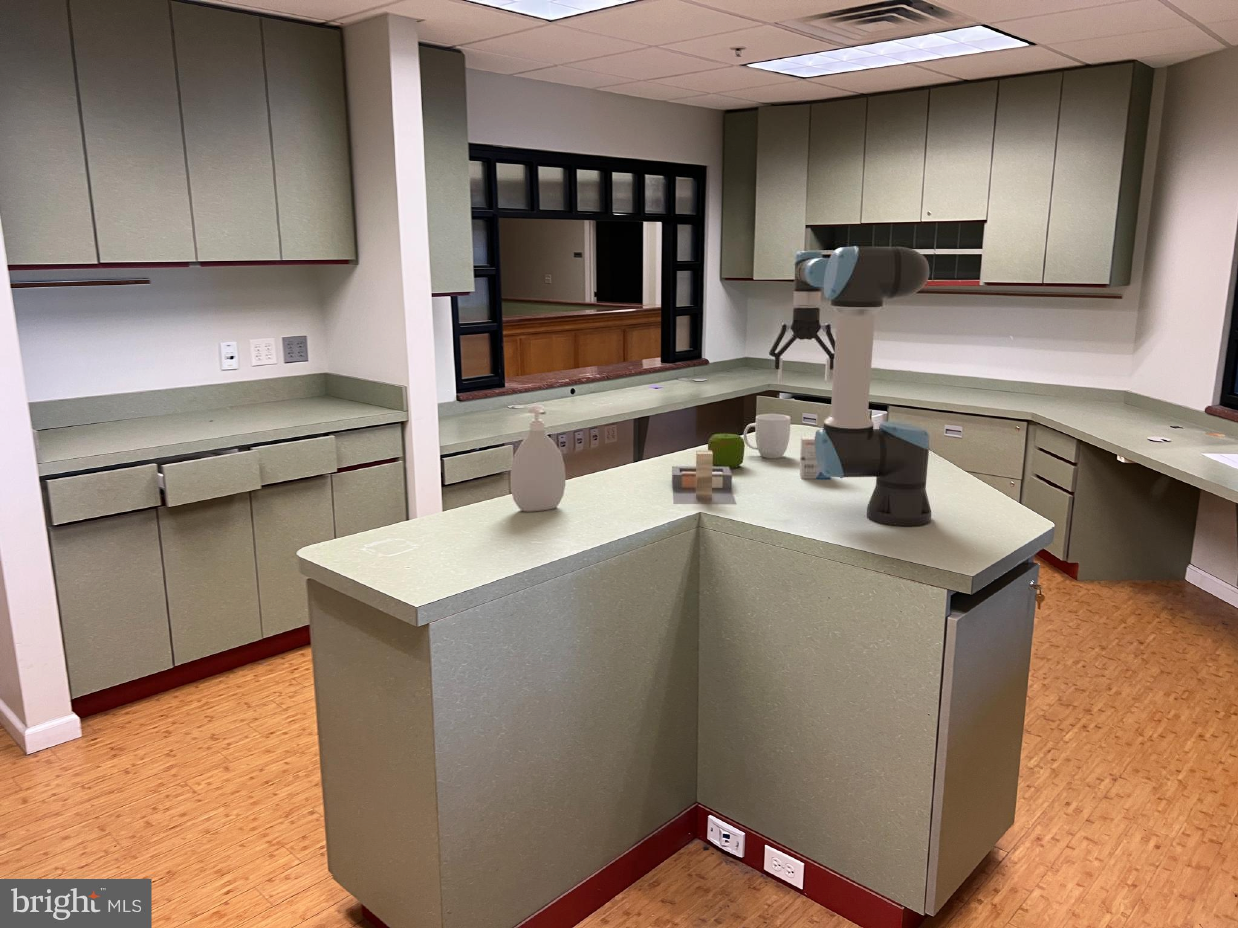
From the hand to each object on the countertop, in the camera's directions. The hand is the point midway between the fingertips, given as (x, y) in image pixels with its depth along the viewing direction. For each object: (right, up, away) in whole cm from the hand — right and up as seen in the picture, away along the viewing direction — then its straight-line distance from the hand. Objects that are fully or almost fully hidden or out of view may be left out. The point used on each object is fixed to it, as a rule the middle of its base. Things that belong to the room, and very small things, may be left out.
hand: (803, 380), depth 256 cm
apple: (-21, -25, +15) cm, 36 cm away
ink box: (+4, -28, +1) cm, 29 cm away
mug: (-5, -22, +29) cm, 37 cm away
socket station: (-31, -33, -19) cm, 49 cm away
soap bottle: (-74, -36, -33) cm, 88 cm away
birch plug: (-31, -33, -25) cm, 52 cm away
